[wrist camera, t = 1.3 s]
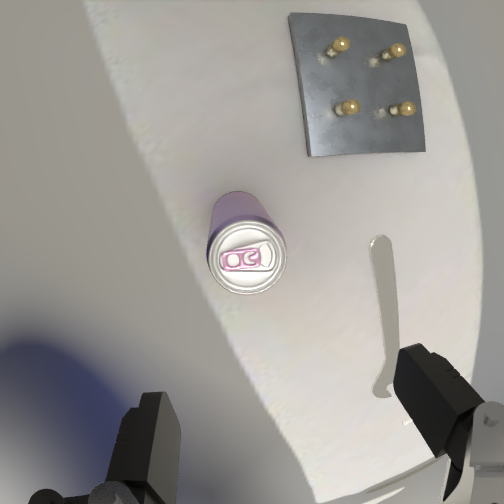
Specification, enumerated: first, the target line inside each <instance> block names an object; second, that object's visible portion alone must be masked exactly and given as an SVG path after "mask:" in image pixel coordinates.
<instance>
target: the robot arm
mask: <svg viewBox="0 0 504 504" xmlns="http://www.w3.org/2000/svg"><path fill="white" fill-rule="evenodd" d="M393 386H394V391H395V394H396V396H397V397H398V399H399V400H400V402H401V403H402V405H403V407H404V408H405V410H406V411H407V413H408V414H409V416H410V417H411V419H412V421H413V422H414V424H415V425H416V427H417V429H418V430H419V432H420V433H421V435H422V436H423V438H424V440H425V441H426V443H427V445H428V446H429V448H430V449H431V451H432V453H433V454H434V456H435V458H438V457H440V456H442V455H444V454H446V453H447V454H448V456H449V457H450V458H449V460H448V463H447V467H446V472H445V477H444V482H443V486H442V490H441V494H440V498H439V502H438V504H504V405H502V404H501V403H499V402H494V401H489V402H485V401H484V400H483V399H482V398H481V397H480V396H479V394H478V393H477V392H476V391H475V390H474V389H473V388H472V387H471V385H470V384H469V383H468V382H467V381H466V380H465V379H464V378H463V377H462V376H460V373H459V372H458V371H457V370H456V369H454V367H453V366H452V365H451V364H450V363H449V361H448V360H447V359H446V358H444V357H442V356H440V355H438V354H436V353H434V352H433V353H430V352H429V351H428V350H427V349H426V348H425V347H424V346H423V345H422V344H420V343H417V344H414V345H411V346H408V347H405V348H402V349H400V350H399V352H398V357H397V363H396V369H395V374H394V380H393ZM180 440H181V430H180V424H179V421H178V418H177V416H176V414H175V411H174V409H173V407H172V404H171V402H170V400H169V397H168V395H167V393H166V392H149V393H143V394H142V396H141V400H140V404H139V408H130V409H129V411H128V412H127V413H126V414H125V416H124V417H123V418H122V421H121V425H120V428H119V433H118V435H117V439H116V443H115V446H114V450H113V454H112V457H111V461H110V465H109V469H108V473H107V477H106V480H105V482H103V483H100V484H99V485H97V486H96V487H94V488H93V489H92V491H91V492H90V494H88V495H83V496H75V497H66V498H63V497H62V496H61V495H60V494H59V493H57V492H56V491H54V490H51V489H42V490H39V491H37V492H36V493H34V494H33V495H32V496H31V498H30V500H29V503H28V504H176V493H177V478H178V464H179V452H180Z"/></svg>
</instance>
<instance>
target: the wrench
mask: <svg viewBox="0 0 504 504" xmlns="http://www.w3.org/2000/svg"><path fill="white" fill-rule="evenodd" d="M369 252H370V258H371V263H372V268H373V274H374V280H375V286H376V292H377V298H378V305H379V312H380V319H381V326H382V334H383V343H384V352H385V359H384V363H383V365H382V368H381V370H380V372H379V374H378V376H377V377H376V379H375V381H374V383H373V385H372V392H373V394H374V395H375V396H376V397H378V398H388V397H391V394H390V393H389V392H388V391H387V390H386V387H387V386H388V385H389V384H391V383H393V380H394V374H395V369H396V363H397V357H398V352H399V350H400V348H399V318H398V300H397V288H396V277H395V268H394V259H393V251H392V243H391V241H390V239H389V238H388V237H386V236H384V235H378V236H376V237H374V238H373V239H372V241H371V242H370V245H369Z"/></svg>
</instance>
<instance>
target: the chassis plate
mask: <svg viewBox="0 0 504 504" xmlns="http://www.w3.org/2000/svg"><path fill="white" fill-rule="evenodd" d="M288 20H289V25H290V31H291V36H292V42H293V48H294V54H295V60H296V67H297V73H298V80H299V87H300V94H301V102H302V109H303V117H304V125H305V134H306V142H307V151H308V156H310V157H313V156H326V155H341V154H358V153H382V152H426V149H425V135H424V124H423V115H422V106H421V99H420V92H419V85H418V79H417V73H416V67H415V62H414V57H413V52H412V47H411V42H410V38H409V34H408V30H407V26H406V25H405V24H400V23H395V22H390V21H384V20H377V19H371V18H363V17H355V16H345V15H334V14H318V13H290V15H289V17H288Z"/></svg>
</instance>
